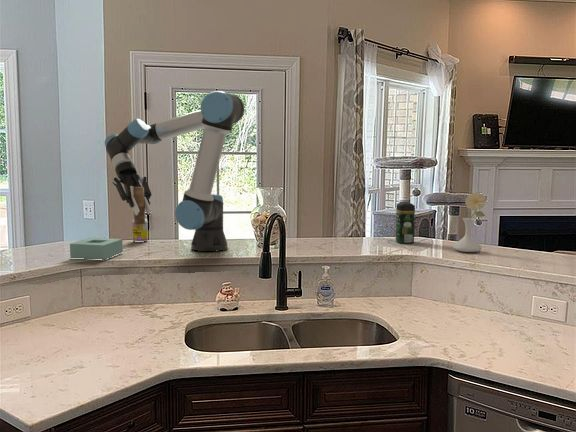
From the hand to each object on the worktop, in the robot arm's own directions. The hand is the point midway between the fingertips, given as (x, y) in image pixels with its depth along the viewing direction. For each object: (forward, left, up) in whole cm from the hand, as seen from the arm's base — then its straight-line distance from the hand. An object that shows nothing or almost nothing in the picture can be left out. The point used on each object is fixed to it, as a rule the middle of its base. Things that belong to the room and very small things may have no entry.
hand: (143, 212), depth 204 cm
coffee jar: (-98, -60, -18) cm, 117 cm away
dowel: (+3, -2, -5) cm, 6 cm away
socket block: (+20, 0, -18) cm, 27 cm away
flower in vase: (-124, -43, -18) cm, 133 cm away
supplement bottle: (+19, -35, -18) cm, 44 cm away
